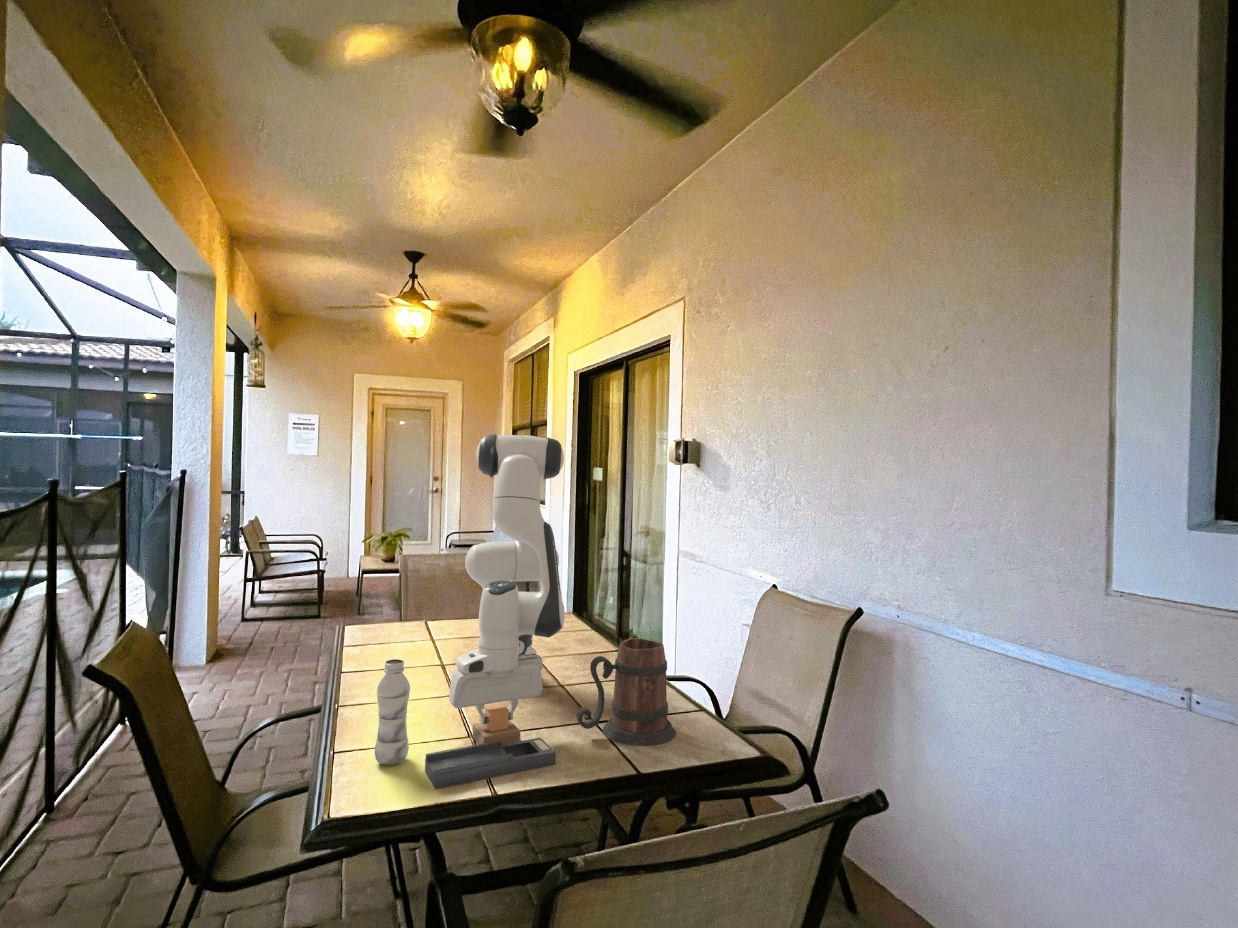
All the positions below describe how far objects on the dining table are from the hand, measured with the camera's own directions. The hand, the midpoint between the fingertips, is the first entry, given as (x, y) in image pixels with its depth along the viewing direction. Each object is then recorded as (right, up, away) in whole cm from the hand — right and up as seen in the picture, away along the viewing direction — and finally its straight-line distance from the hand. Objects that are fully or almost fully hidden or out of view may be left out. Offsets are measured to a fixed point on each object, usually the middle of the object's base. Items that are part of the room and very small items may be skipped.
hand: (496, 721), depth 143 cm
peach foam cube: (0, -1, 0) cm, 1 cm away
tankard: (+28, -5, +7) cm, 29 cm away
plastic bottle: (-19, -4, -12) cm, 22 cm away
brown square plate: (0, -4, 0) cm, 4 cm away
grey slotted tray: (+1, -4, -13) cm, 14 cm away
